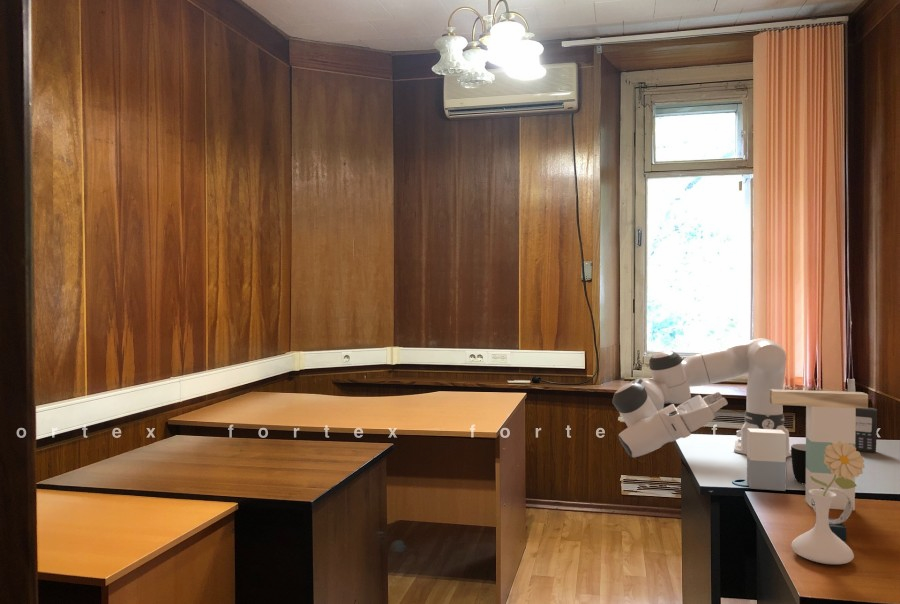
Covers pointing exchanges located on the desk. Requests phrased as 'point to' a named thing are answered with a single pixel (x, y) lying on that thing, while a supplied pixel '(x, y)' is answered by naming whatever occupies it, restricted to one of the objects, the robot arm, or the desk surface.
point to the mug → (799, 462)
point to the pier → (766, 459)
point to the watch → (837, 524)
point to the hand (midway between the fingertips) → (723, 397)
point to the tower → (820, 433)
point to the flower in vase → (820, 538)
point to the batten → (819, 398)
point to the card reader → (866, 429)
